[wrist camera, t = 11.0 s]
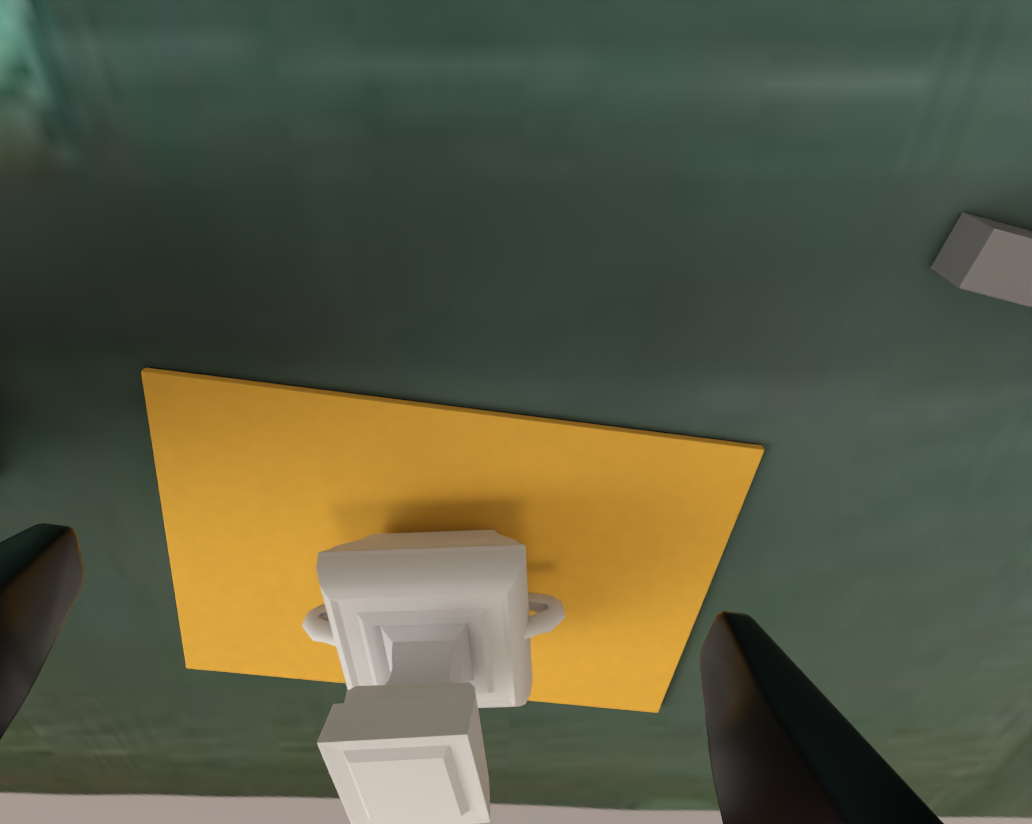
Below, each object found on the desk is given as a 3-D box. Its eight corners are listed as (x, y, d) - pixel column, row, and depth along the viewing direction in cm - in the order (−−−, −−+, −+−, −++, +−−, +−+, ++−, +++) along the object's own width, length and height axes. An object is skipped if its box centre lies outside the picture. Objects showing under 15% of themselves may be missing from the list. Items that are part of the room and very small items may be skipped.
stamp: (336, 635, 27) (272, 865, 20) (299, 505, 24) (207, 725, 17) (563, 626, 27) (580, 856, 20) (559, 493, 24) (577, 711, 16)
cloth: (189, 662, 29) (185, 668, 28) (145, 367, 21) (140, 371, 21) (656, 706, 30) (657, 713, 30) (762, 444, 23) (765, 450, 23)
